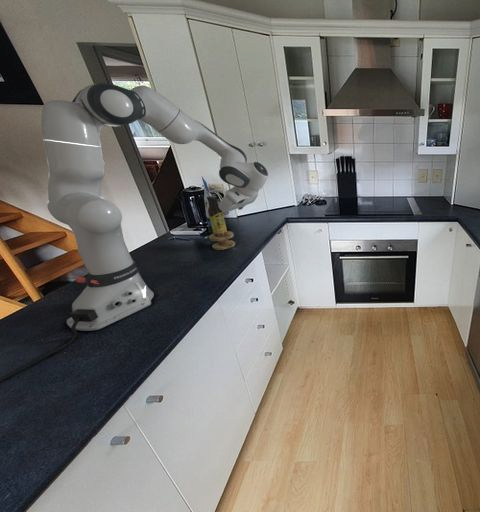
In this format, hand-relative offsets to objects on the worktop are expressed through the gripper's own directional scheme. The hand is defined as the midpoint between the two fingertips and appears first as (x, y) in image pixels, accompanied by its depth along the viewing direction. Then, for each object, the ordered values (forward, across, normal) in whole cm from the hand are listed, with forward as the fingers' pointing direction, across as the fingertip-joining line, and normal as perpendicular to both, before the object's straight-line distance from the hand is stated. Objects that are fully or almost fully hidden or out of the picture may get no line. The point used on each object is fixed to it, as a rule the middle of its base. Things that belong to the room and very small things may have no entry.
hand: (232, 211), depth 131 cm
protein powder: (+36, -18, -8) cm, 41 cm away
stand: (+21, 0, +6) cm, 22 cm away
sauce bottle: (+17, 0, +2) cm, 17 cm away
